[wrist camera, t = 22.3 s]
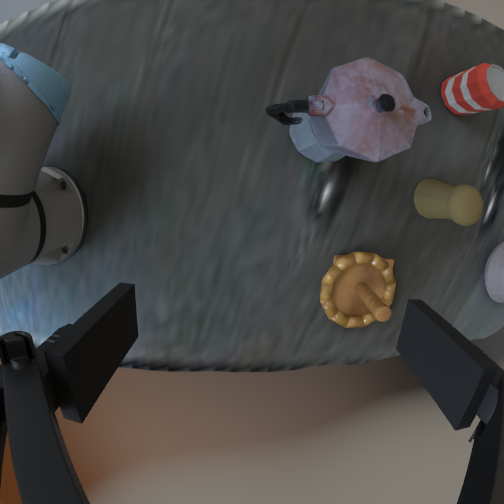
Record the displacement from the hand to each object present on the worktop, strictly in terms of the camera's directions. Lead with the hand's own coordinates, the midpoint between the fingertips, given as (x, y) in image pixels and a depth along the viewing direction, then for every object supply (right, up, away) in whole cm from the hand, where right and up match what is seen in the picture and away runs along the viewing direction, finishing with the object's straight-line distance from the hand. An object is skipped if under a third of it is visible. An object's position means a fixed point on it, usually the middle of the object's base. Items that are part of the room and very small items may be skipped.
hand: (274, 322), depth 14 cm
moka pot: (+8, +19, +26) cm, 33 cm away
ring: (+14, -2, +29) cm, 32 cm away
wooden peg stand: (+15, -2, +31) cm, 34 cm away
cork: (+25, +11, +28) cm, 39 cm away
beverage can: (+31, +27, +24) cm, 48 cm away
